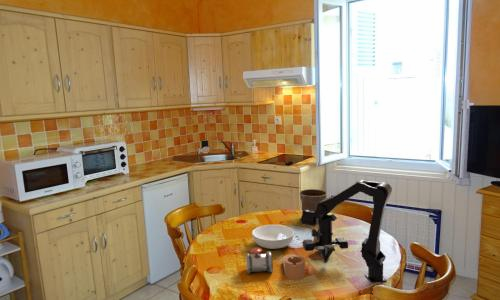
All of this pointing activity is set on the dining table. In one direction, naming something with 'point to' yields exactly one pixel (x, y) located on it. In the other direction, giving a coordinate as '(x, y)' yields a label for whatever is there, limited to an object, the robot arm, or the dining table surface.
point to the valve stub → (259, 261)
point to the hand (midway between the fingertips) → (325, 262)
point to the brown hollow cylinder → (294, 266)
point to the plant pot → (311, 198)
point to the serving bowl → (272, 236)
